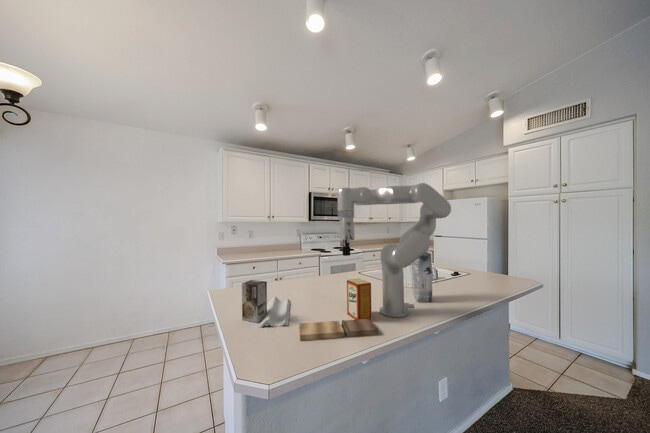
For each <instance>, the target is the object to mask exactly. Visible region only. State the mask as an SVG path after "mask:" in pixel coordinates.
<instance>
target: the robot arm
mask: <svg viewBox="0 0 650 433" xmlns="http://www.w3.org/2000/svg"><path fill="white" fill-rule="evenodd" d="M336 194H337V219H339V238H340V239H341V240H342V256H343V257H348V256H349V257H350V256H351V241H354V240H355V223H354V219H355V205H356V206H372V205H373V206H374V205H375V206H376V205H398V204H399V205H400V204H406V205H407V204H417V203H422V204H421V206H420V210H419V220H418V221H417V222H416V223H415V224H414V225H413V226H412V227H410V228H409V229H408V230H407V231H405V232H404V233H403V234H402V235H401V236H400V237H399V245H398V244H395V243H394V244H393V243H389V244H386V245H384V246H383V247H382V249H381V250H380V254H379V255H380V256H379V257H380V263H381V272H382V274H381V275H382V277H381V279H382V306H381V307H379V313H380V314H381V315H383V316H385V317H389V318H404V317H406V316H408V314H409V312H408V310H409V309H415V304H414V303H409V302H405V289H404V287H405V285H404V280H405V279H404V277H405V276H404V268H407V267H409V266H411V265H412V263H413V262H414V261H416V260H417V259H418V258H419V257H421V256H422V255H423V254H424V253H425V252H426V251H427V250H428V251H429V249H430V246H431V238H430V237H431V236H432V235H433V234H434V233H435V231H436V229H437V227H436V226H437V219H445V218H447V217H448V216H449V215H450V214H451V212H452V206H451V204H450V202H449V201H448V200H447V199H446V198H445V197H444V196H443V195H442V194H441V193H439V192H438V190H436V189H435V188H433V186H431V185H430V184H427V183H425V182H419V183H417V184H414V185H413V184H411V185H390V186H389V185H388V186H384V187H381V188H377V189H370V188H368V187H365V186H362V187H353V188H351V187H341V188H339V189H337V193H336Z"/></svg>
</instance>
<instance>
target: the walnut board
mask: <svg viewBox="0 0 650 433" xmlns="http://www.w3.org/2000/svg"><path fill="white" fill-rule="evenodd" d="M341 326H342V328H343V330H344V334H345V335H346V338H352V337H367V336H368V337H369V336H378V335H379V330H378V328H377V326H376V325H375V324H374V323H373V322H372V319H359V320H355V319H347V320H346V319H345V320H344V319H342V320H341Z"/></svg>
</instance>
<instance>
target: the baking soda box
mask: <svg viewBox="0 0 650 433" xmlns="http://www.w3.org/2000/svg"><path fill="white" fill-rule="evenodd" d="M346 299H347V300H346V302H347V304H346V305H347V307H346V308H347V309H346V310H347V315H348V316H349V317H351V318H352V319H353V320H359V319H370V320H372V316H373V315H372V283H371V282H369V281H366V280H364V279H362V278H352V279H347V280H346Z"/></svg>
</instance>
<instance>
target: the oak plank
mask: <svg viewBox="0 0 650 433" xmlns="http://www.w3.org/2000/svg"><path fill="white" fill-rule="evenodd" d="M298 326H299V329H298V330H299V340H300V342H302V341H314V340H329V339H340V338H341V339H342V338H345V331H344V329H343V327H342V323H341V322H340V320H331V321H317V322H306V323H305V322H304V323H298Z"/></svg>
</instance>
